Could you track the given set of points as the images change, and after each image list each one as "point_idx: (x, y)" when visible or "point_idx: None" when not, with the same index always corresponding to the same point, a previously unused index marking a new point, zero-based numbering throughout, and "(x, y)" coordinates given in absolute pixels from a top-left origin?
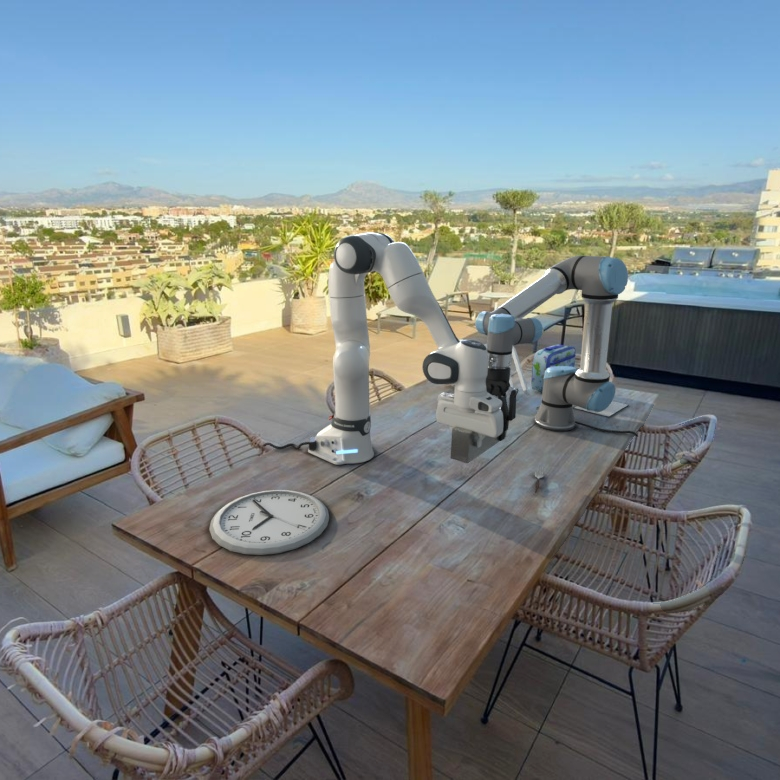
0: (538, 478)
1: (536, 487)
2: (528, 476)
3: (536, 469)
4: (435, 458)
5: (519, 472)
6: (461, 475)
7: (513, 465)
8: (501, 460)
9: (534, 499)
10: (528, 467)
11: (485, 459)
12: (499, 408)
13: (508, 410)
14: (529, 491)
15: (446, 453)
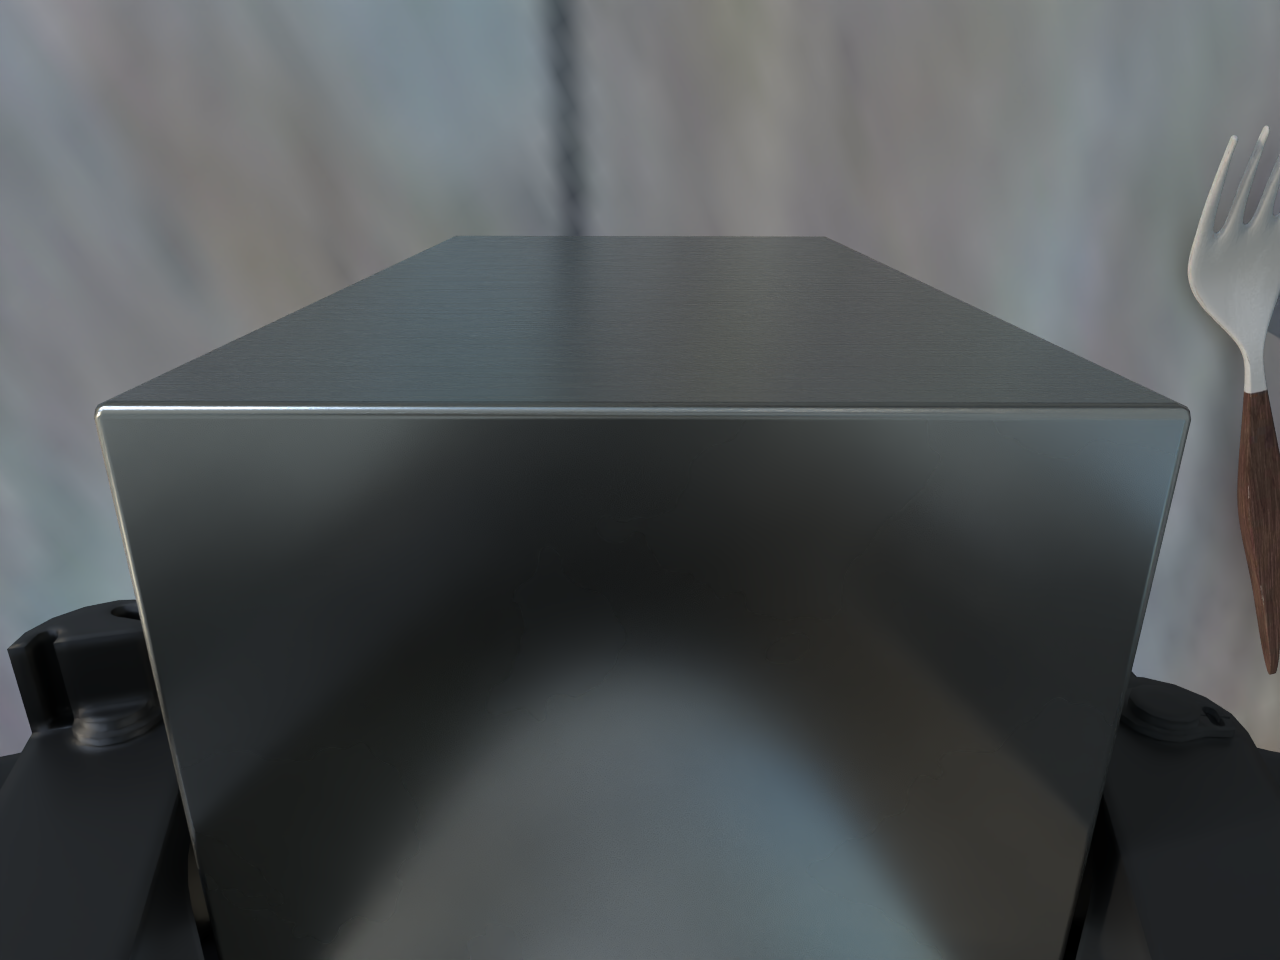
0: (1257, 374)
1: (1272, 590)
2: (1114, 330)
3: (1216, 198)
4: (66, 566)
5: (993, 298)
6: None
7: (868, 153)
8: (679, 107)
9: (1260, 726)
10: (1057, 79)
11: (501, 219)
12: (659, 565)
13: (1169, 417)
14: (1191, 627)
15: (45, 374)
